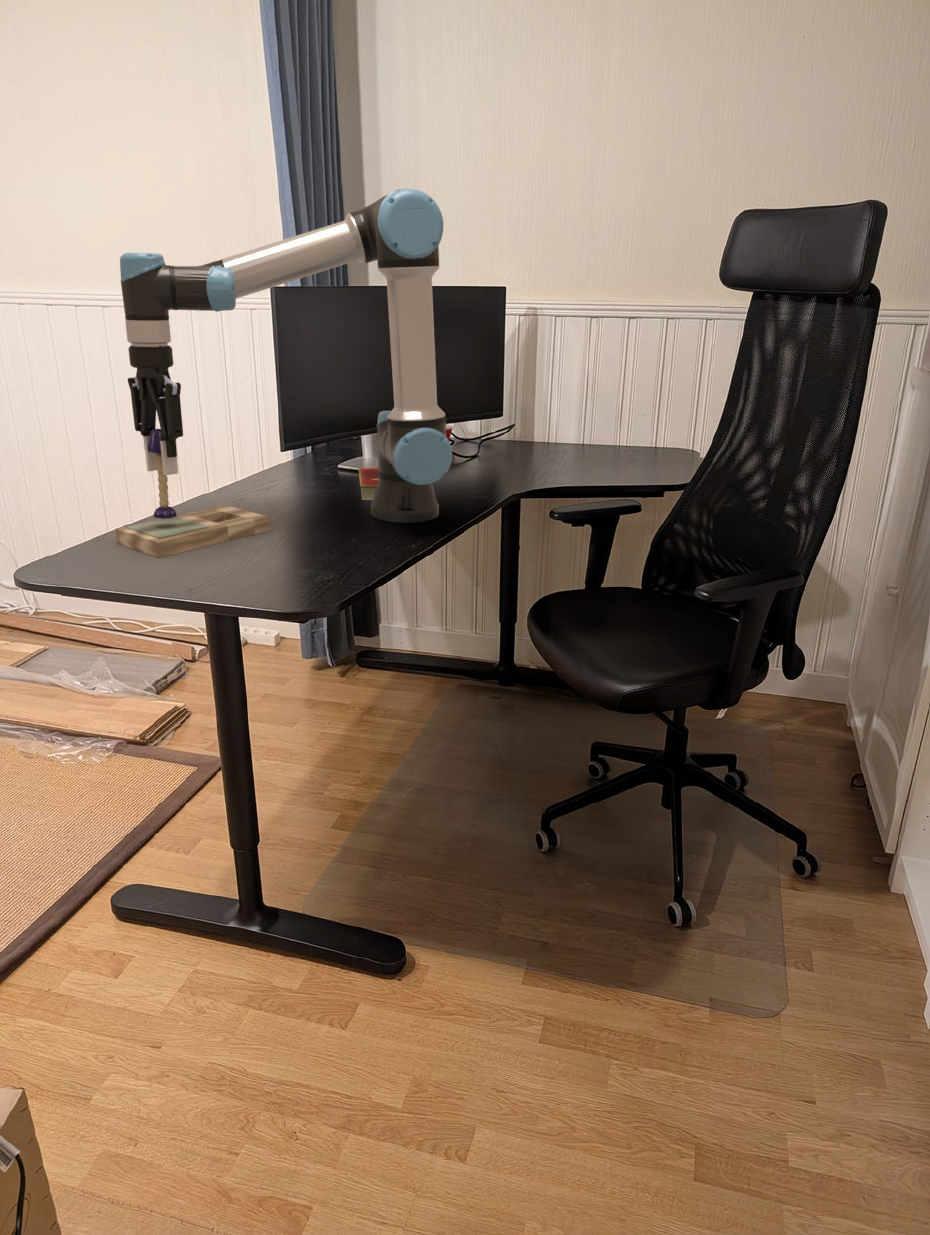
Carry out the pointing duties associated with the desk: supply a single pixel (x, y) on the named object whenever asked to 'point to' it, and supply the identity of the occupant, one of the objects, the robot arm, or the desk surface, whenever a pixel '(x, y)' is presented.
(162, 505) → the toy lamp
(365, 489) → the hardcover book
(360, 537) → the desk surface
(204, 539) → the light wooden flat block
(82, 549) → the desk surface
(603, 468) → the desk surface
